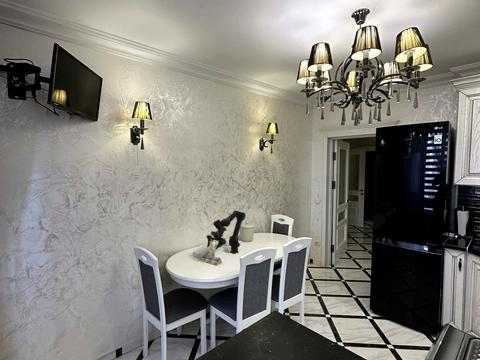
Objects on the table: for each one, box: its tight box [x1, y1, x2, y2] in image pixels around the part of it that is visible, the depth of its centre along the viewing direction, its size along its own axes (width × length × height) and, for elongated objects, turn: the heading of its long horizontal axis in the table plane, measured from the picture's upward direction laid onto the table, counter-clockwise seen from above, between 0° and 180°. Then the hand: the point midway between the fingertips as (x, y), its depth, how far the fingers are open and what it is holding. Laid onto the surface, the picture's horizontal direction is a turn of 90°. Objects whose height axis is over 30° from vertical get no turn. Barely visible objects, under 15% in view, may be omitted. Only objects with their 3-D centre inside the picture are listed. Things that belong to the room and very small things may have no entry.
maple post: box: [209, 240, 216, 257], centre depth 220 cm, size 4×4×13 cm
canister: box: [239, 221, 256, 243], centre depth 287 cm, size 18×18×21 cm
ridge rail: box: [202, 253, 223, 267], centre depth 221 cm, size 16×6×5 cm, turn 55°
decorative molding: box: [191, 240, 217, 258], centre depth 250 cm, size 34×5×10 cm
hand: (211, 248), depth 219 cm, fingers open, 9 cm apart
